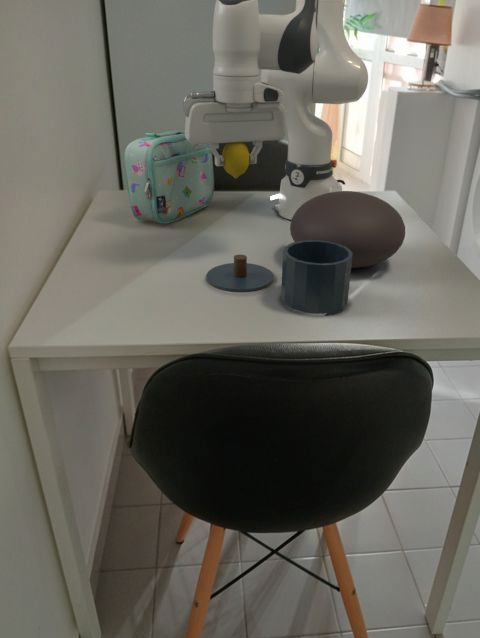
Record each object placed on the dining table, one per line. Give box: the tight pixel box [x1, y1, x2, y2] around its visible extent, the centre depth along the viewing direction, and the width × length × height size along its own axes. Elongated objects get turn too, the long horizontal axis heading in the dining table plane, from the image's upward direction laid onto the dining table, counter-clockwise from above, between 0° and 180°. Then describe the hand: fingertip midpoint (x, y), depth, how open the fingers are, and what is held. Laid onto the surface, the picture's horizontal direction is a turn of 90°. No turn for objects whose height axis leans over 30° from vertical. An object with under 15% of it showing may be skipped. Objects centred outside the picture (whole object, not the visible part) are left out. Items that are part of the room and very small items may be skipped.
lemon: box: [221, 142, 250, 179], centre depth 123 cm, size 6×6×8 cm
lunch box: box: [123, 129, 215, 225], centre depth 155 cm, size 27×10×21 cm, turn 150°
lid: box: [206, 254, 275, 293], centre depth 123 cm, size 14×14×5 cm
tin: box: [280, 240, 353, 317], centre depth 114 cm, size 13×13×10 cm
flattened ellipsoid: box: [289, 190, 406, 269], centre depth 131 cm, size 25×25×15 cm
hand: (236, 164), depth 123 cm, fingers closed on lemon, 5 cm apart
